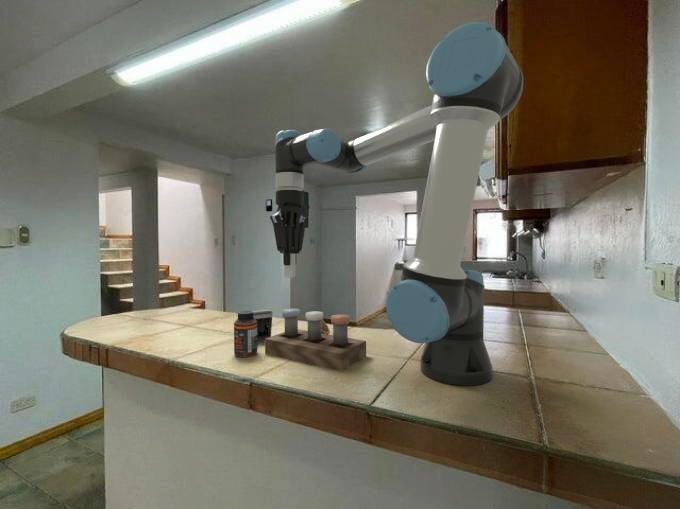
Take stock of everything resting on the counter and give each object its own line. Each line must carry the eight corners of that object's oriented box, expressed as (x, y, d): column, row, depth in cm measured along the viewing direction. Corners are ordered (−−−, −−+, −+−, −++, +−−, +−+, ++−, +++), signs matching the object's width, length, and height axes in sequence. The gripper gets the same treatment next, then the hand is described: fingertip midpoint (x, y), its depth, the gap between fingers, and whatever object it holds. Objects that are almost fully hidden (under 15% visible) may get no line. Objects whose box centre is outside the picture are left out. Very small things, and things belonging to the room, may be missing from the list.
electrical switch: (270, 336, 104) (270, 307, 103) (274, 341, 100) (275, 312, 98) (239, 340, 100) (239, 310, 99) (243, 346, 95) (243, 315, 94)
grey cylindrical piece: (303, 332, 91) (302, 309, 90) (292, 336, 87) (291, 312, 86) (290, 330, 93) (290, 307, 93) (279, 334, 89) (278, 310, 89)
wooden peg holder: (366, 356, 84) (366, 340, 84) (341, 371, 74) (341, 353, 74) (294, 342, 97) (294, 328, 97) (265, 353, 87) (264, 338, 87)
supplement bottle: (229, 355, 85) (228, 312, 85) (245, 349, 91) (245, 308, 90) (246, 359, 83) (245, 314, 82) (262, 352, 88) (261, 310, 88)
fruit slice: (325, 341, 97) (325, 325, 97) (304, 340, 99) (303, 324, 99) (332, 334, 106) (331, 319, 106) (312, 333, 107) (311, 318, 107)
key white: (326, 336, 86) (326, 312, 86) (316, 341, 82) (316, 315, 82) (312, 334, 89) (312, 310, 89) (302, 338, 85) (301, 313, 85)
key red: (353, 341, 82) (352, 315, 82) (343, 346, 78) (343, 319, 78) (337, 338, 84) (337, 313, 84) (327, 343, 81) (327, 317, 80)
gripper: (294, 195, 96) (294, 274, 97) (262, 188, 85) (262, 278, 86) (315, 192, 92) (315, 276, 93) (283, 185, 81) (284, 280, 82)
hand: (290, 277), depth 90 cm, fingers closed
